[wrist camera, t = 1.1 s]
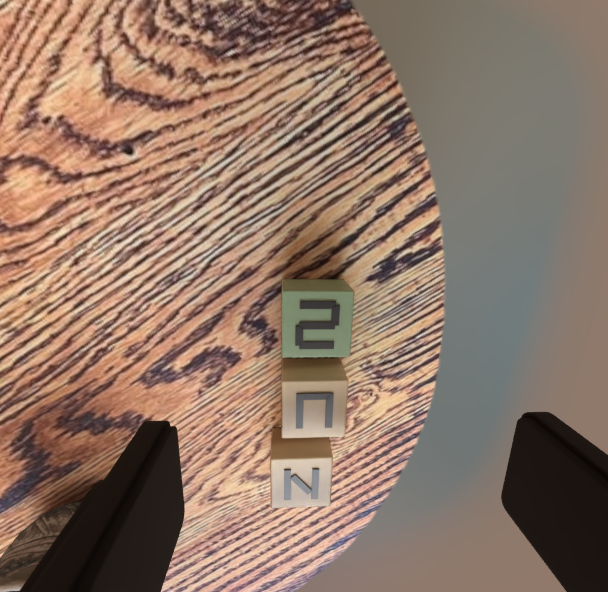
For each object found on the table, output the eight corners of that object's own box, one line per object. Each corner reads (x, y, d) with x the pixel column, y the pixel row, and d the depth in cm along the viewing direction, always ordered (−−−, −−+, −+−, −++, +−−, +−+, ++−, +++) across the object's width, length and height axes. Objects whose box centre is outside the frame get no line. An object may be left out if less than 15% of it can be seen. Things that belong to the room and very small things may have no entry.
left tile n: (272, 427, 23) (270, 460, 20) (327, 426, 23) (333, 458, 20) (272, 472, 24) (270, 510, 21) (325, 471, 24) (330, 507, 21)
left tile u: (281, 358, 21) (281, 382, 18) (340, 357, 22) (349, 381, 19) (281, 409, 22) (281, 440, 19) (337, 408, 23) (345, 438, 20)
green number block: (282, 278, 20) (281, 291, 17) (344, 279, 20) (354, 291, 17) (281, 337, 21) (281, 359, 18) (341, 337, 21) (350, 358, 18)
